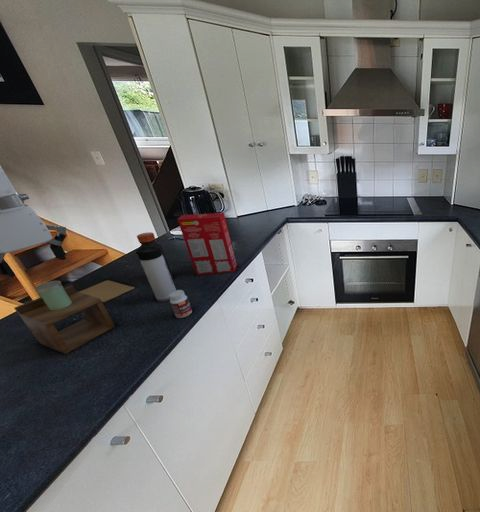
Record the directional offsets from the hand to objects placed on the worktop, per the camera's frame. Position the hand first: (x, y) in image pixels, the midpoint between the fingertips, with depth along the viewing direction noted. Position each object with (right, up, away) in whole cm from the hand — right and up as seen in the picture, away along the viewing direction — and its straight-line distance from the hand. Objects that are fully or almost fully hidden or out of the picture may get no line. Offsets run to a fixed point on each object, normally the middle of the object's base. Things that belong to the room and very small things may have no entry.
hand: (37, 266), depth 72 cm
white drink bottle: (+2, -7, +39) cm, 40 cm away
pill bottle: (+24, -17, +20) cm, 36 cm away
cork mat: (-14, -10, +31) cm, 36 cm away
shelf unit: (-1, -21, +11) cm, 24 cm away
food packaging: (+19, -4, +47) cm, 51 cm away
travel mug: (+11, -13, +29) cm, 33 cm away
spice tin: (0, -11, +6) cm, 13 cm away
